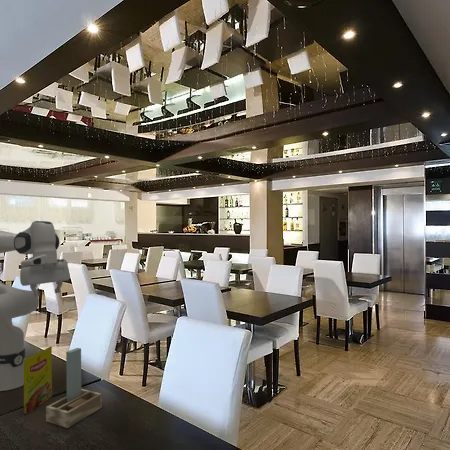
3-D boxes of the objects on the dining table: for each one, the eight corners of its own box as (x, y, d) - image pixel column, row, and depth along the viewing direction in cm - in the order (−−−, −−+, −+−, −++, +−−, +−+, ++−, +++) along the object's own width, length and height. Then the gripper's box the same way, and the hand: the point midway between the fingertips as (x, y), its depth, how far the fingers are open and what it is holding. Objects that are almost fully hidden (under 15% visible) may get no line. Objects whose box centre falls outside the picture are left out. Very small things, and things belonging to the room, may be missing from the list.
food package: (25, 415, 135) (24, 359, 135) (22, 415, 135) (22, 359, 135) (53, 396, 150) (52, 346, 150) (50, 396, 150) (50, 345, 150)
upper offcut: (67, 412, 132) (67, 405, 132) (80, 405, 138) (80, 398, 138) (73, 414, 131) (73, 407, 131) (86, 406, 136) (86, 400, 136)
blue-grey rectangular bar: (66, 412, 137) (66, 351, 137) (77, 406, 142) (77, 347, 141) (70, 413, 136) (70, 352, 136) (81, 407, 141) (81, 348, 141)
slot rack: (45, 421, 131) (45, 406, 131) (81, 401, 145) (81, 388, 145) (67, 428, 126) (67, 413, 126) (102, 407, 141) (102, 393, 141)
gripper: (61, 259, 164) (64, 291, 162) (16, 262, 146) (18, 298, 144) (71, 258, 161) (74, 290, 160) (26, 261, 143) (29, 297, 142)
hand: (47, 294), depth 152 cm, fingers open, 8 cm apart
